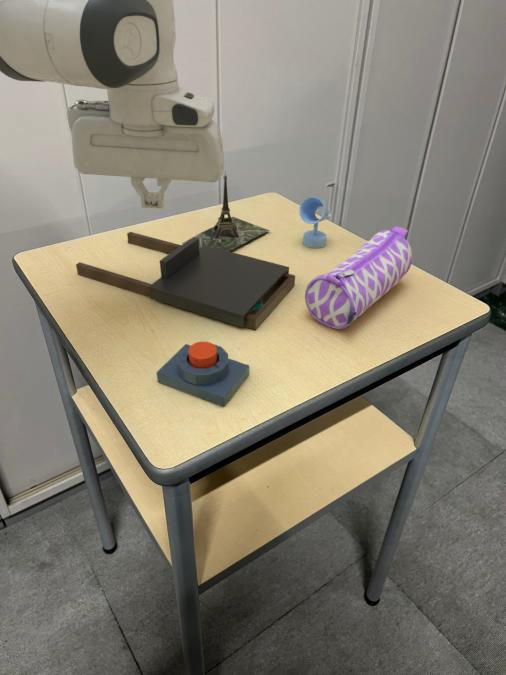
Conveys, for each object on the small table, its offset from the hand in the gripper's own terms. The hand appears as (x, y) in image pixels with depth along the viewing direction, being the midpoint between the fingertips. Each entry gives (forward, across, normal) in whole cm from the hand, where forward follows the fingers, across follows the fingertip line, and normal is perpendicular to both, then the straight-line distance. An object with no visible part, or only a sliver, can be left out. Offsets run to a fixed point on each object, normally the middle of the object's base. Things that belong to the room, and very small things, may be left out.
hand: (153, 206), depth 74 cm
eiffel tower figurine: (+16, +8, +24) cm, 30 cm away
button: (+13, +10, -18) cm, 24 cm away
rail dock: (+16, +2, +7) cm, 18 cm away
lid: (+16, +9, +4) cm, 19 cm away
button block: (+16, +10, -18) cm, 26 cm away
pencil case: (+16, +32, +4) cm, 36 cm away
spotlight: (+16, +24, +24) cm, 38 cm away
